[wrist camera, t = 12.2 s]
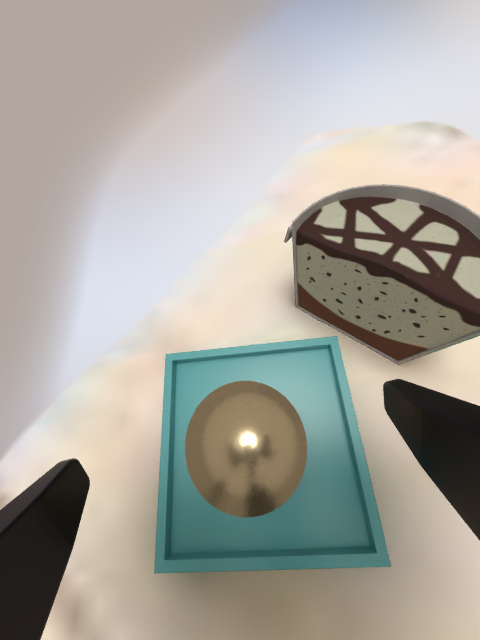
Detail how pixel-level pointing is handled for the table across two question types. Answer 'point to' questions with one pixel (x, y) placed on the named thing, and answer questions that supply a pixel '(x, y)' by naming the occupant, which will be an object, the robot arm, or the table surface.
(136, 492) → the table surface
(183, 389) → the teal tray
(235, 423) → the grey tin
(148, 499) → the table surface
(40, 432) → the table surface
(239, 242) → the table surface
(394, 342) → the food container
